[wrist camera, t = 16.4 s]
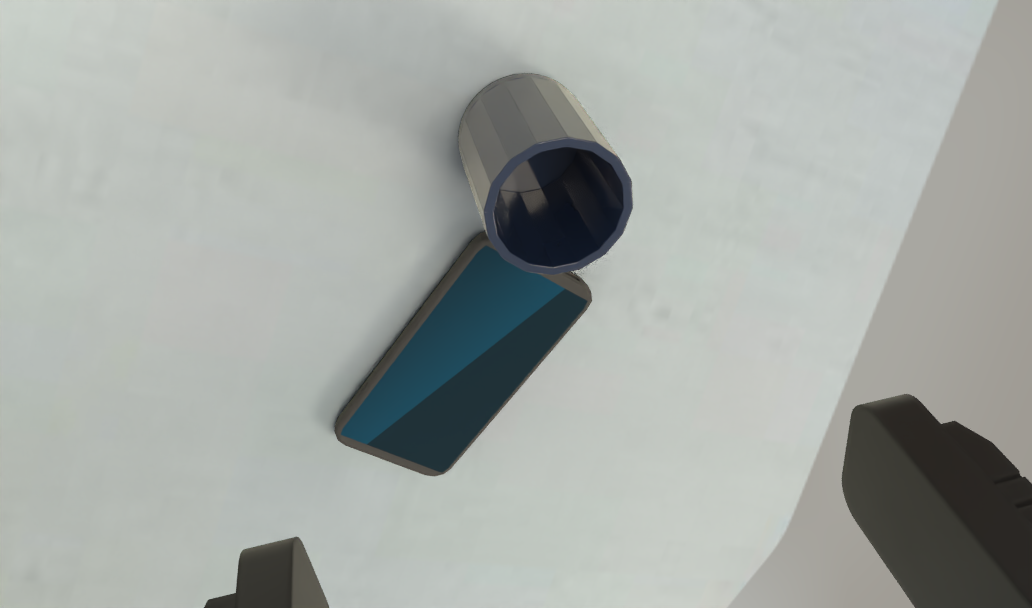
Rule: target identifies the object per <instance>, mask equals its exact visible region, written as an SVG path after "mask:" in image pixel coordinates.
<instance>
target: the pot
mask: <svg viewBox="0 0 1032 608" xmlns="http://www.w3.org/2000/svg"><path fill="white" fill-rule="evenodd" d="M458 143H459V151H460V155H461V158H462V163H463V167H464V170H465V173H466V176H467V179H468V182H469V184H470V187H471V190H472V193H473V196H474V199H475V202H476V205H477V208H478V211H479V213H480V216H481V219H482V222H483V225H484V228H485V231H486V234H487V237H488V239H489V240H490V242H491V243H492V245H493V246H494V247H495V249H496V250H497V252H498V253H499V254H500V256H501V257H502V258H503V259H504V260H506V261H508V262H509V263H511V264H513V265H515V266H516V267H518V268H520V269H522V270H523V271H526V272H532V273H539V274H547V275H556V274H560V273H565V272H570V271H574V270H579V269H581V268H583V267H585V266H586V265H588V264H590V263H592V262H593V261H595V260H597V259H598V258H600V257H602V256H603V255H604V254H606V253H607V252H608V250H609V249H610V248H611V247H612V246H613V245H614V243H615V242H616V241H617V240H618V239H619V238H620V236H621V235H622V234H623V232H624V230H625V227H626V225H627V222H628V219H629V217H630V214H631V211H632V209H633V198H632V181H631V179H630V177H629V175H628V173H627V171H626V169H625V168H624V166H623V164H622V162H621V160H620V158H619V157H618V156H617V154H616V153H615V151H614V150H613V149H612V147H611V146H610V145H609V143H608V142H607V140H606V139H605V138H604V136H603V135H602V133H601V132H600V131H599V129H598V128H597V126H596V125H595V124H594V122H593V121H592V119H591V118H590V117H589V115H588V114H587V113H586V111H585V110H584V108H583V107H582V106H581V104H580V103H579V101H578V100H577V99H576V97H575V96H574V95H573V94H571V93H570V91H569V90H568V89H567V88H565V87H564V86H563V85H562V84H560V83H559V82H557V81H555V80H553V79H551V78H549V77H546V76H542V75H538V74H515V75H511V76H507V77H504V78H501V79H499V80H497V81H495V82H493V83H491V84H489V85H488V86H487V87H485V88H484V89H483V90H482V91H480V92H479V93H478V94H477V95H476V96H475V98H474V99H473V100H472V101H471V102H470V104H469V106H468V107H467V109H466V111H465V113H464V115H463V117H462V120H461V123H460V128H459V135H458Z"/></svg>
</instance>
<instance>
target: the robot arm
mask: <svg viewBox="0 0 1032 608" xmlns="http://www.w3.org/2000/svg"><path fill="white" fill-rule="evenodd" d="M842 487H843V492H844V496H845V500H846V503H847V505H848V508H849V510H850V512H851V514H852V516H853V517H854V519H855V521H856V522H857V524H858V525H859V527H860V528H861V530H862V531H863V532H864V534H865V535H866V537H867V538H868V540H869V541H870V543H871V544H872V545H873V547H874V548H875V550H876V551H877V553H878V554H879V556H880V557H881V559H882V560H883V562H884V563H885V564H886V566H887V567H888V569H889V570H890V572H891V573H892V575H893V576H894V578H895V579H896V580H897V582H898V583H899V585H900V586H901V588H902V589H903V591H904V592H905V594H906V595H907V596H908V598H909V599H910V601H911V602H912V604H913V605H914V607H915V608H1032V484H1031V483H1030V482H1029V481H1028V480H1027V479H1026V477H1021V476H1020V474H1019V470H1018V469H1017V468H1016V467H1015V466H1014V465H1013V464H1012V463H1011V462H1010V461H1009V460H1008V459H1007V458H1006V457H1005V456H1004V455H1003V453H1002V452H1001V451H1000V450H999V449H998V448H997V447H996V446H995V445H994V444H993V443H992V442H990V441H989V440H987V439H985V438H983V437H982V436H980V435H978V434H977V433H975V432H973V431H971V430H970V429H968V428H966V427H964V426H963V425H961V424H959V423H958V422H956V421H952V422H948V423H944V424H940V423H939V422H938V421H937V420H936V419H935V417H934V416H933V415H932V414H931V413H930V412H929V411H928V410H927V408H926V407H925V406H924V405H923V404H922V403H921V402H920V401H919V400H918V399H917V398H915V397H914V396H912V395H909V394H904V395H899V396H895V397H891V398H886V399H882V400H878V401H874V402H870V403H866V404H861V405H858V406H856V407H855V408H854V409H853V411H852V414H851V419H850V426H849V433H848V440H847V446H846V452H845V459H844V466H843V472H842ZM204 608H329V606H328V602H327V600H326V597H325V595H324V593H323V590H322V588H321V586H320V583H319V581H318V578H317V576H316V574H315V571H314V569H313V567H312V564H311V562H310V559H309V557H308V555H307V552H306V550H305V548H304V545H303V543H302V541H301V540H300V538H299V537H294V538H290V539H286V540H281V541H277V542H273V543H269V544H265V545H260V546H256V547H252V548H248V549H244V550H243V551H242V552H241V554H240V558H239V565H238V576H237V587H236V593H234V594H230V595H226V596H222V597H218V598H213V599H209V600H208V601H207V603H206V605H205V607H204Z"/></svg>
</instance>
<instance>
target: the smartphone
mask: <svg viewBox="0 0 1032 608" xmlns="http://www.w3.org/2000/svg"><path fill="white" fill-rule="evenodd" d="M591 301H592V297H591V291H590V289H589V287H588V285H587V284H586V283H585V282H584V281H583V280H582V279H581V278H580V277H578V276H576V275H575V274H573V273H571V272H565V273H560V274H556V275H547V274H539V273H532V272H526V271H523V270H522V269H520V268H518V267H516V266H515V265H513V264H511V263H509V262H508V261H506V260H504V259H503V258H502V257H501V256H500V254H499V253H498V252H497V250H496V249H495V247H494V246H493V245H492V243H491V242H490V240H489V239H488V237H487V234H486V232H483V233H480V234H479V235H478V236H477V237H475V238H474V239H473V240H472V241H471V242H470V244H469V245H468V246H467V248H466V249H465V250H464V252H463V253H462V254H461V256H460V257H459V258H458V260H457V261H456V262H455V264H454V265H453V266H452V267H451V269H450V270H449V271H448V273H447V274H446V275H445V277H444V278H443V279H442V281H441V282H440V283H439V285H438V286H437V287H436V289H435V290H434V291H433V293H432V294H431V295H430V297H429V298H428V299H427V301H426V302H425V303H424V305H423V306H422V307H421V308H420V310H419V311H418V312H417V314H416V315H415V316H414V318H413V319H412V320H411V322H410V323H409V324H408V326H407V327H406V328H405V330H404V331H403V332H402V334H401V335H400V336H399V338H398V339H397V340H396V342H395V343H394V344H393V346H392V347H391V348H390V349H389V351H388V352H387V353H386V355H385V356H384V357H383V359H382V360H381V361H380V363H379V364H378V365H377V367H376V368H375V369H374V371H373V372H372V373H371V375H370V376H369V377H368V379H367V380H366V381H365V383H364V384H363V385H362V387H361V388H360V389H359V391H358V392H357V393H356V394H355V396H354V397H353V398H352V400H351V401H350V402H349V404H348V405H347V406H346V408H345V409H344V410H343V412H342V413H341V414H340V416H339V417H338V419H337V422H336V424H335V434H336V436H337V439H338V441H340V442H341V443H343V444H344V445H346V446H349V447H351V448H354V449H357V450H359V451H362V452H365V453H367V454H370V455H373V456H376V457H378V458H381V459H384V460H386V461H389V462H392V463H394V464H397V465H400V466H402V467H405V468H408V469H410V470H413V471H416V472H418V473H421V474H424V475H428V476H438V475H442V474H444V473H446V472H447V471H448V470H450V469H451V468H452V467H453V465H454V464H455V463H456V462H457V461H458V460H459V458H460V457H461V456H462V455H463V454H464V453H465V451H466V450H467V449H468V448H469V447H470V446H471V444H472V443H473V442H474V441H475V440H476V439H477V437H478V436H479V435H480V434H481V433H482V432H483V430H484V429H485V428H486V427H487V426H488V424H489V423H490V422H491V421H492V420H493V419H494V417H495V416H496V415H497V414H498V413H499V412H500V410H501V409H502V408H503V407H504V406H505V405H506V403H507V402H508V401H509V400H510V399H511V398H512V396H513V395H514V394H515V393H516V392H517V391H518V389H519V388H520V387H521V386H522V385H523V384H524V382H525V381H526V380H527V379H528V378H529V376H530V375H531V374H532V373H533V372H534V371H535V369H536V368H537V367H538V366H539V365H540V364H541V362H542V361H543V360H544V359H545V358H546V357H547V355H548V354H549V353H550V352H551V351H552V350H553V348H554V347H555V346H556V345H557V344H558V343H559V341H560V340H561V339H562V338H563V337H564V336H565V334H566V333H567V332H568V331H569V330H570V328H571V327H572V326H573V325H574V324H575V323H576V321H577V320H578V319H579V318H580V317H581V316H582V314H583V313H584V312H585V311H586V310H587V308H588V307H589V305H590V303H591Z"/></svg>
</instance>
